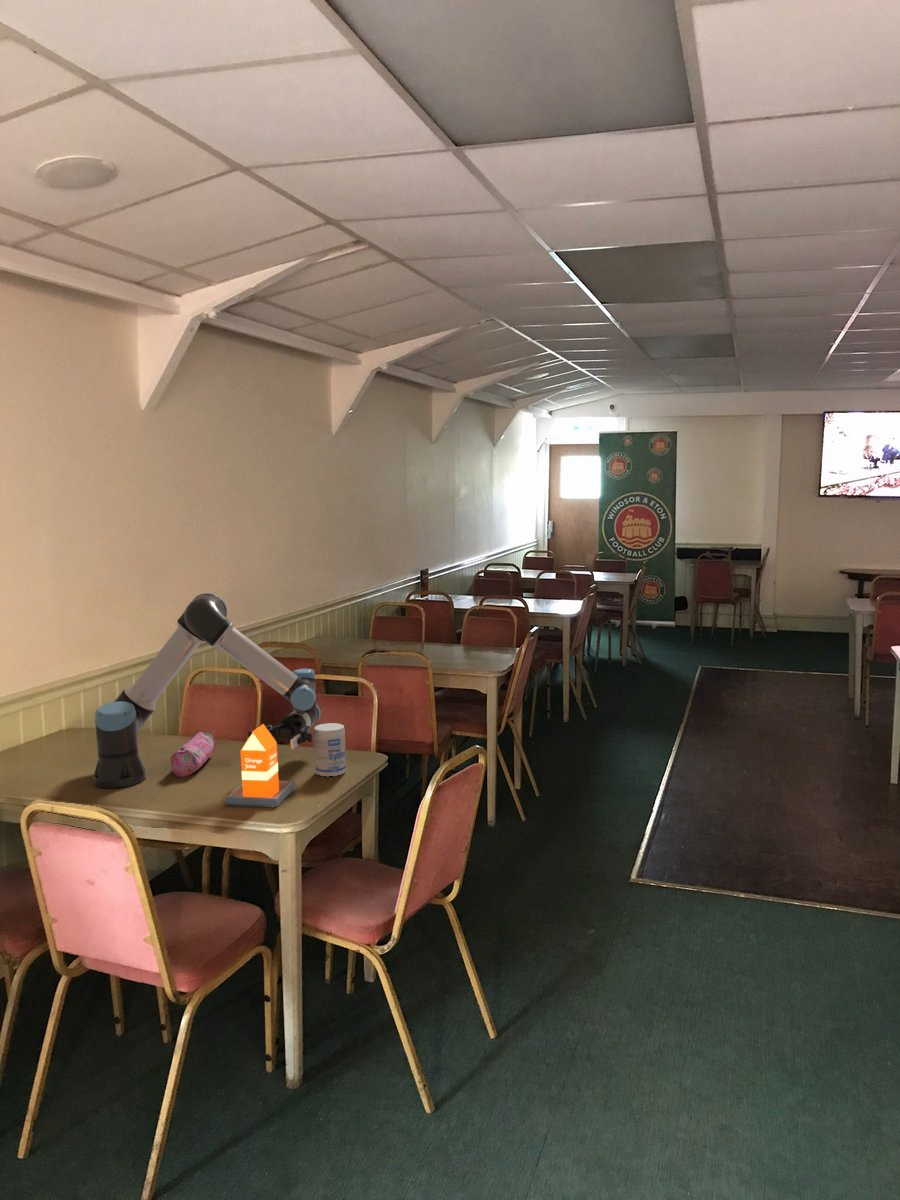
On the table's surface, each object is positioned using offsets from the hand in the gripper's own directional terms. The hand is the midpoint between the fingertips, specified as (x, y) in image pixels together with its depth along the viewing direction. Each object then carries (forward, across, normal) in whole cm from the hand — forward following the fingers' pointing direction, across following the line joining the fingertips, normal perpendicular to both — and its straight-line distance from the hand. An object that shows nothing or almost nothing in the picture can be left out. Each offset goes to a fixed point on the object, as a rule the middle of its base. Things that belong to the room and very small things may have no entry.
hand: (270, 744), depth 272 cm
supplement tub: (-15, -13, -14) cm, 24 cm away
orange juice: (+9, 0, -13) cm, 15 cm away
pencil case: (-16, +33, -14) cm, 39 cm away
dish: (+9, 0, -13) cm, 16 cm away
